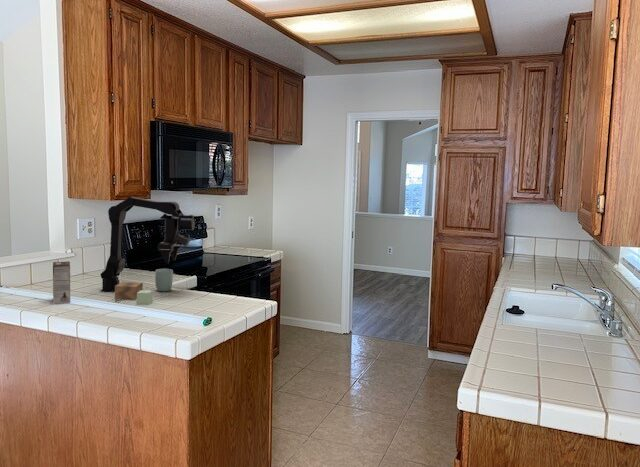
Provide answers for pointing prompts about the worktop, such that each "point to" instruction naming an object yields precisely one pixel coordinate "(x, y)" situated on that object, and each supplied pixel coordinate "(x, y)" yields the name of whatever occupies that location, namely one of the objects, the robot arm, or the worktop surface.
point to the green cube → (144, 297)
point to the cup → (164, 279)
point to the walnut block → (127, 290)
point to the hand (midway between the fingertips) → (170, 262)
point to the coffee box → (61, 282)
